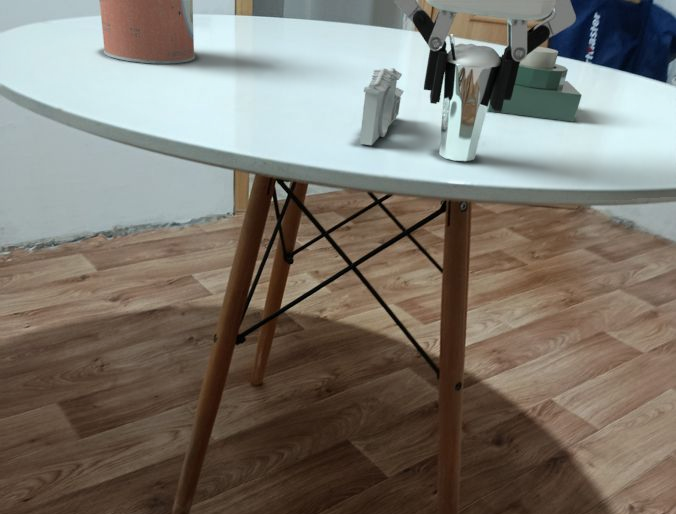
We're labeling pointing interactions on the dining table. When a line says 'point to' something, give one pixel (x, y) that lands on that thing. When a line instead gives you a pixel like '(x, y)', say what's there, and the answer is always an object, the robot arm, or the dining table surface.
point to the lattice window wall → (380, 105)
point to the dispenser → (542, 94)
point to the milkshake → (466, 98)
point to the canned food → (148, 30)
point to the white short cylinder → (541, 58)
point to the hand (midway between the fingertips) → (465, 101)
